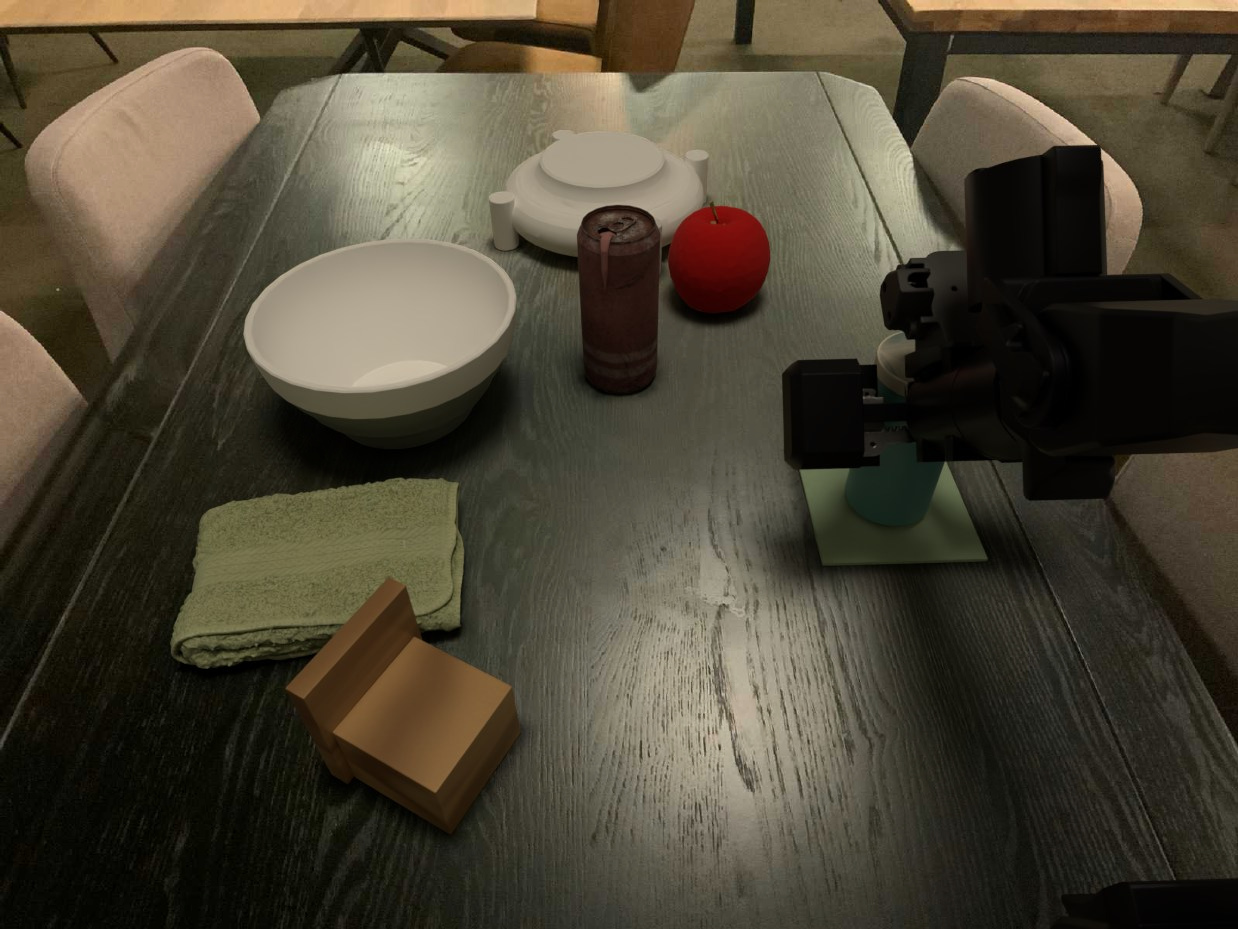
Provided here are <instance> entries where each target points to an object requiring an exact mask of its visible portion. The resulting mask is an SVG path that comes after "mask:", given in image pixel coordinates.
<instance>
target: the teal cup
mask: <svg viewBox="0 0 1238 929" xmlns="http://www.w3.org/2000/svg"><path fill="white" fill-rule="evenodd" d="M914 351H915V340H907V339H906V337H905V333H904V332H903V331H898V332H896V333H893V334H890V335H888V336H887V337H885V338H884V339H883V340H882V341H881V342H880V344H878V347H877V350H876V352H875V358H874V362H873V364H877V380H878V397H883V402H884V403H906V397H905V390H904V387H905V384H906V383H907V382H911V381H914V378H906V377H905V355H906V354H909V353H911V352H914ZM884 426H886V429H887V431H888V427H889V426H893V429H894V430H895V427H896V426H900V429H902V426H907V423H906V422H884ZM907 429H908V426H907ZM944 463H945V462H918V463H916V443H908V444H887V445H886V446H885V448H884V450H883V452H882V453H881V454H880V466H871V467H861V468H850V469H849V473H848V477H847V481H846V485H845V494H846V498H847V500H848V502H849V504H850V505H851V506H852V508H853V509H854V510H855V511H856V512H858V513H859V514H860V515H862V516H863V517H865V518H867V519H869V520H871V521H873V522H876V523H879V524H884V525H890V526H901V525H907V524H911V523H914V522H916V521H918V520H919V519H921V518H922V517H923V516H924V515H925V514H926V512H927V510H928V508H929V505H930V503H931V500H932V497H933V494H934V491H935V488H936V486H937V483H938V480H939V477H940V474H941V472H942V469H943V466H944Z"/></svg>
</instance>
